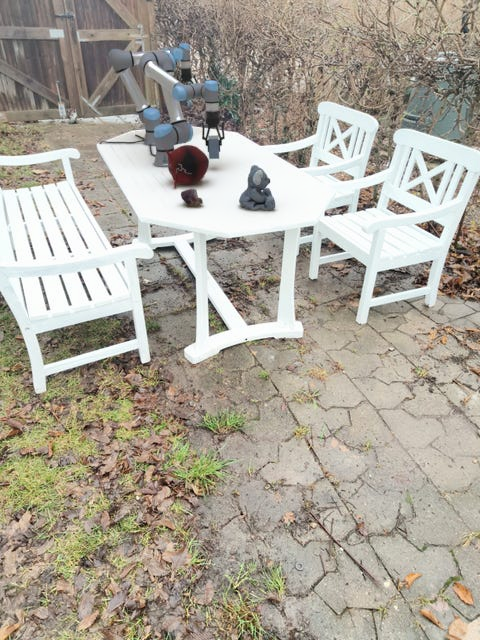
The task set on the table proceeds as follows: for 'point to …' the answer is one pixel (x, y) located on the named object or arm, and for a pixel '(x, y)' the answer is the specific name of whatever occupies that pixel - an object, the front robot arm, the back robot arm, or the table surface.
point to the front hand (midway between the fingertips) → (214, 151)
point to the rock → (191, 197)
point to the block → (213, 147)
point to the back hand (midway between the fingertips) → (187, 99)
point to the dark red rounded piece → (187, 164)
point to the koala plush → (257, 191)
